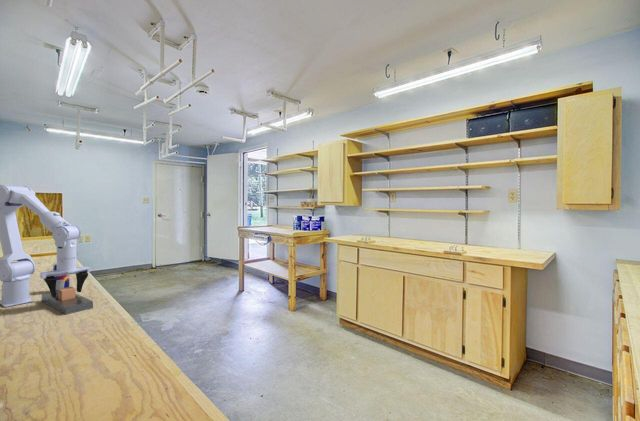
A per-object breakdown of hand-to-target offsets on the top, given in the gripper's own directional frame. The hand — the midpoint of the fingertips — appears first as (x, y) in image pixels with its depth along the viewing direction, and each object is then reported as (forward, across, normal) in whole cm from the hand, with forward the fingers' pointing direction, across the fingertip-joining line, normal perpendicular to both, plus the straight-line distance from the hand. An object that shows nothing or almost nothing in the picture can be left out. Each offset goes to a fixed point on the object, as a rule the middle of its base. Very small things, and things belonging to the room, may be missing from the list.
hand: (66, 294), depth 114 cm
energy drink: (+4, +5, +22) cm, 23 cm away
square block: (+4, 0, 0) cm, 4 cm away
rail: (+4, 0, 0) cm, 4 cm away
